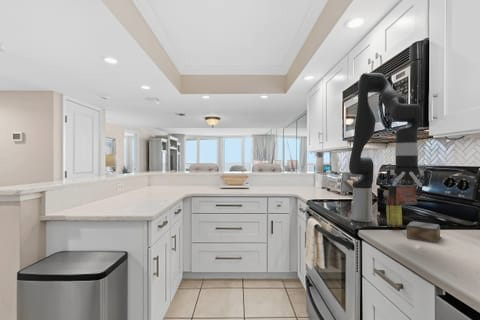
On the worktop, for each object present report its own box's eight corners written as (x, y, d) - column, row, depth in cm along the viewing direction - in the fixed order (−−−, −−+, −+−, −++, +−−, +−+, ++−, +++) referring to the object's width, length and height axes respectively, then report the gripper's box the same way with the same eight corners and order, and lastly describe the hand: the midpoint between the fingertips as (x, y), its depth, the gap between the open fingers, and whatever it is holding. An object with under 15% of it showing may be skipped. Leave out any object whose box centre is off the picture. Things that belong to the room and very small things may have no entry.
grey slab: (406, 237, 110) (406, 225, 110) (411, 232, 117) (411, 221, 117) (436, 242, 103) (436, 229, 103) (440, 236, 110) (439, 224, 110)
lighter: (413, 202, 108) (413, 178, 108) (419, 204, 104) (419, 178, 104) (394, 203, 107) (393, 178, 107) (399, 204, 104) (399, 179, 104)
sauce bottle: (405, 228, 124) (404, 185, 124) (395, 229, 122) (395, 186, 122) (392, 225, 130) (392, 184, 130) (383, 226, 128) (382, 184, 128)
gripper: (426, 154, 106) (426, 195, 106) (385, 154, 112) (385, 193, 112) (430, 154, 99) (430, 198, 99) (386, 154, 105) (386, 196, 106)
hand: (406, 195), depth 106 cm, fingers closed on lighter, 7 cm apart
